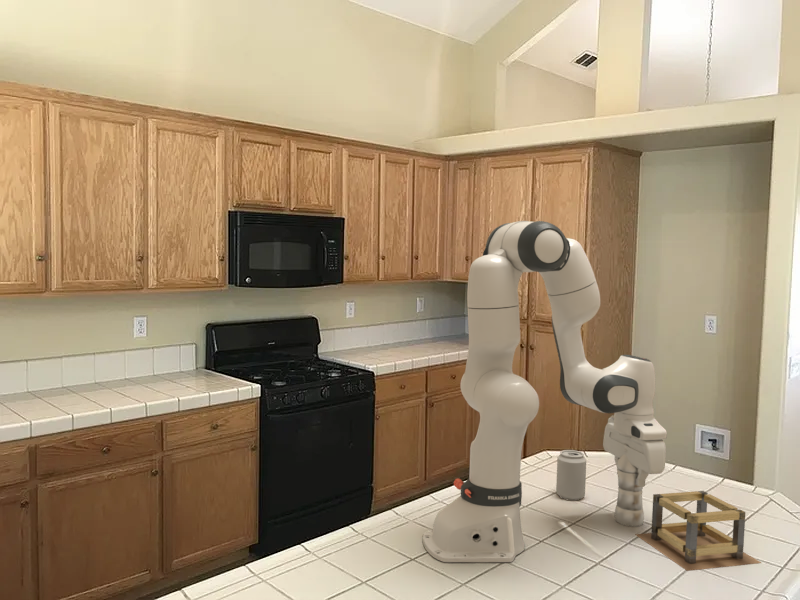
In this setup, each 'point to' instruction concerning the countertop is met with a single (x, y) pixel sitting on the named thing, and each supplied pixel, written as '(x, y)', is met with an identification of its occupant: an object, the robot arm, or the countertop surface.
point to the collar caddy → (698, 524)
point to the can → (571, 475)
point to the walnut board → (701, 561)
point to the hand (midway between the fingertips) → (630, 480)
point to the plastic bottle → (628, 494)
